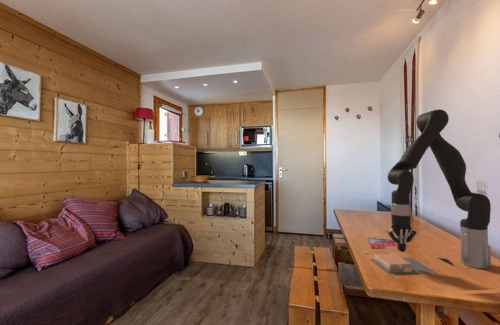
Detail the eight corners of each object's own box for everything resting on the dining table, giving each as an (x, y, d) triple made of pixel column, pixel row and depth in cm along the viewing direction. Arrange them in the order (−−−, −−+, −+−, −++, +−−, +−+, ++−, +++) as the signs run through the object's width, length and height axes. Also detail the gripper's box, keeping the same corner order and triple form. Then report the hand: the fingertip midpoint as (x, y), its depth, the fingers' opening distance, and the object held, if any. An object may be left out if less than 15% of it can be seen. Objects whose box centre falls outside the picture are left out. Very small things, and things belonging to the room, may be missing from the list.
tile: (394, 253, 113) (373, 254, 113) (412, 264, 101) (389, 264, 101) (394, 260, 113) (374, 260, 113) (412, 271, 101) (389, 272, 101)
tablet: (403, 241, 143) (403, 240, 143) (415, 257, 119) (415, 255, 119) (367, 238, 150) (367, 237, 150) (372, 252, 126) (372, 251, 126)
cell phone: (412, 256, 120) (412, 255, 120) (448, 261, 114) (448, 259, 114) (415, 262, 113) (415, 260, 113) (454, 267, 107) (454, 265, 107)
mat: (411, 259, 115) (411, 257, 115) (438, 275, 99) (438, 273, 99) (369, 261, 115) (369, 259, 115) (388, 276, 99) (388, 274, 99)
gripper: (409, 211, 111) (410, 247, 111) (381, 212, 111) (382, 248, 111) (421, 214, 104) (422, 254, 103) (391, 215, 103) (392, 254, 103)
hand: (401, 251), depth 107 cm, fingers closed
